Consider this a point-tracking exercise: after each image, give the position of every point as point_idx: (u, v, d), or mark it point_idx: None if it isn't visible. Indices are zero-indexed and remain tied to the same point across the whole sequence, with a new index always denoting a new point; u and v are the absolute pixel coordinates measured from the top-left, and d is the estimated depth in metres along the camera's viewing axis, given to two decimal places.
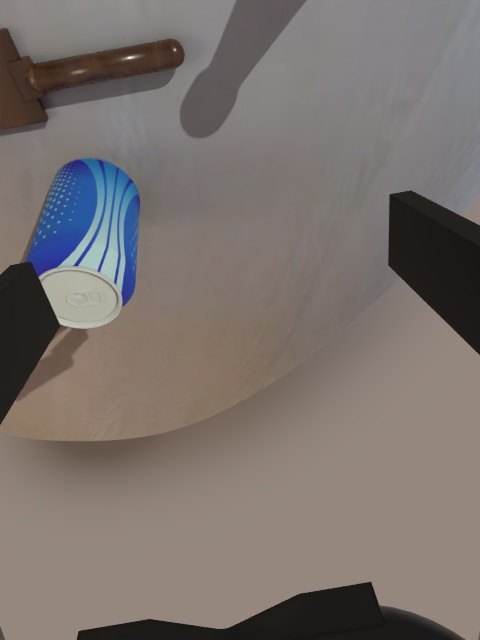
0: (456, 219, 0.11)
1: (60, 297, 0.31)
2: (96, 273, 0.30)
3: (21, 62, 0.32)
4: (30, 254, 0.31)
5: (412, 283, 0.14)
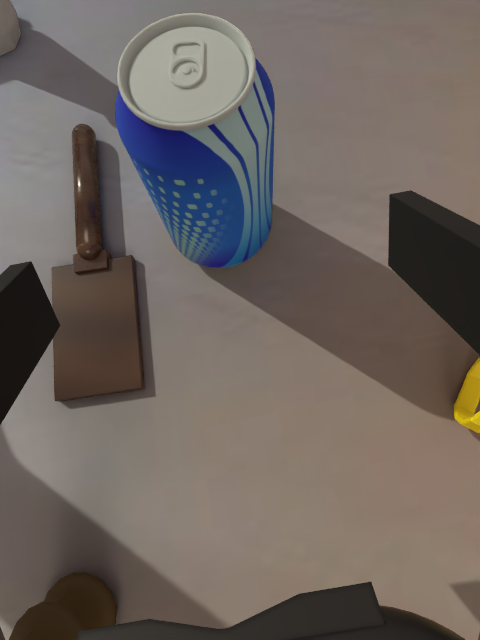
0: (456, 219, 0.11)
1: (180, 95, 0.19)
2: (134, 37, 0.20)
3: (74, 259, 0.34)
4: (135, 156, 0.21)
5: (413, 283, 0.14)
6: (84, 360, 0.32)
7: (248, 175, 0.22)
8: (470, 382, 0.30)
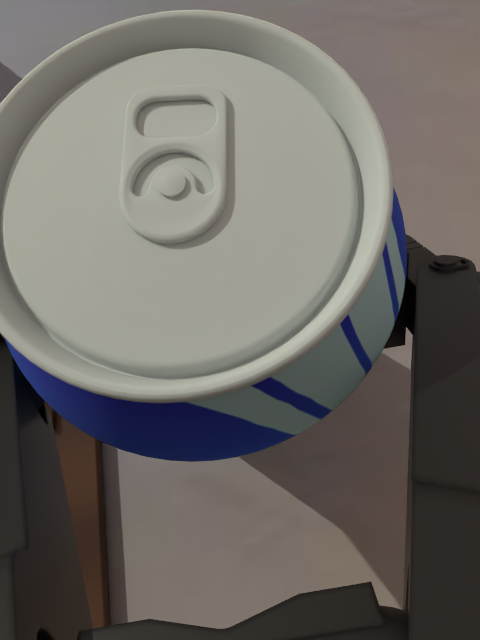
0: None
1: (155, 268, 0.06)
2: (23, 81, 0.07)
3: None
4: None
5: None
6: None
7: None
8: None
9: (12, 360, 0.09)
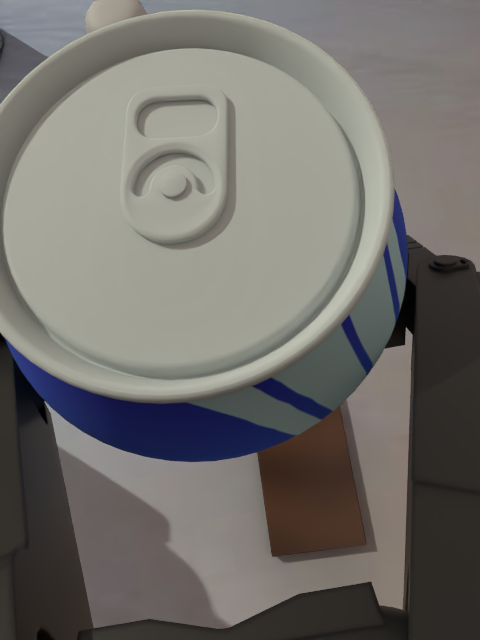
0: None
1: (155, 268, 0.06)
2: (23, 81, 0.07)
3: None
4: None
5: None
6: (299, 510, 0.30)
7: None
8: None
9: (12, 360, 0.09)
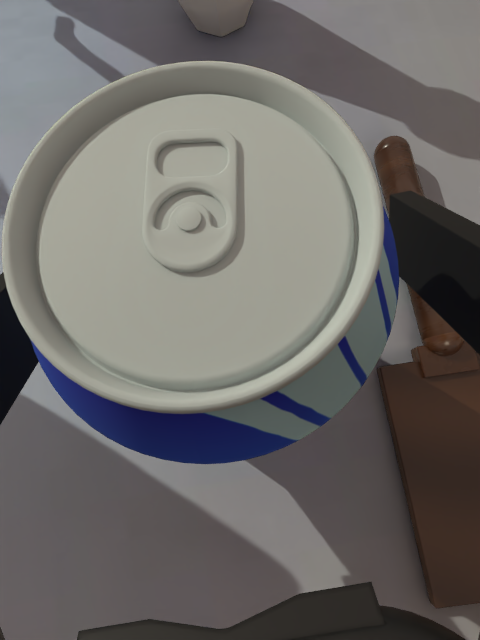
0: (456, 219, 0.11)
1: (174, 295, 0.07)
2: (55, 125, 0.08)
3: (421, 355, 0.21)
4: (66, 401, 0.09)
5: (413, 283, 0.14)
6: (473, 534, 0.19)
7: None
8: None
9: None
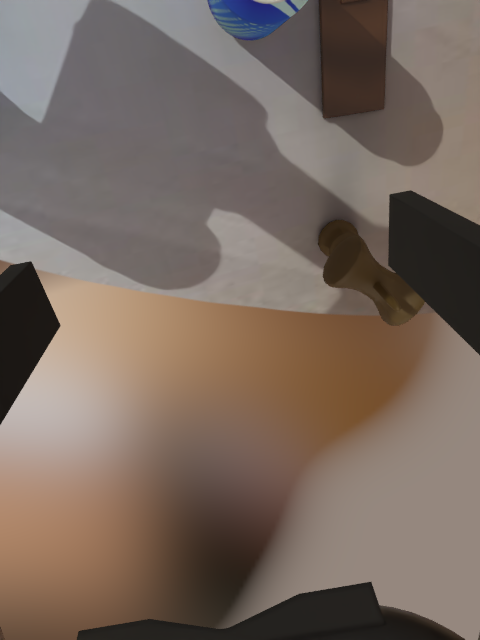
0: (456, 219, 0.11)
1: None
2: None
3: None
4: (224, 2, 0.30)
5: (412, 283, 0.14)
6: (345, 86, 0.44)
7: None
8: None
9: None
